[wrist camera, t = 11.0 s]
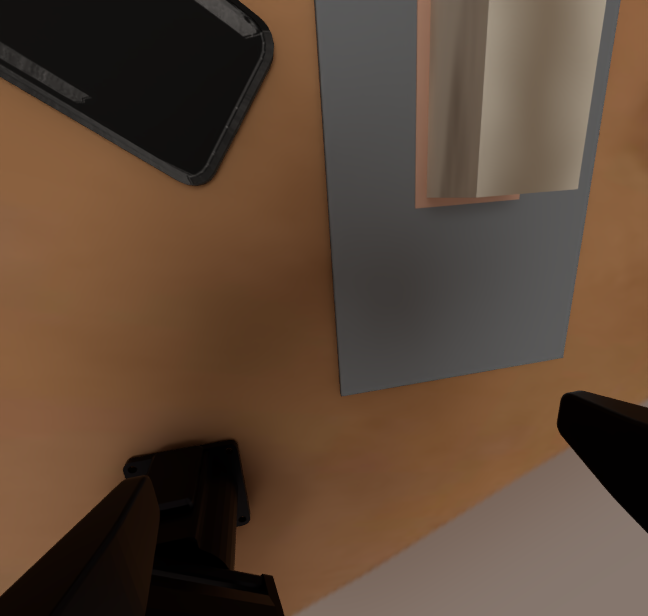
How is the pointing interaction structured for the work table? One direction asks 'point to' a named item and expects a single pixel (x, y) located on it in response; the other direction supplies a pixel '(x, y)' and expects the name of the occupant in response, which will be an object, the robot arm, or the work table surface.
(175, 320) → the work table surface
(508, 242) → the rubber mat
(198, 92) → the phone
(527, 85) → the ash block
